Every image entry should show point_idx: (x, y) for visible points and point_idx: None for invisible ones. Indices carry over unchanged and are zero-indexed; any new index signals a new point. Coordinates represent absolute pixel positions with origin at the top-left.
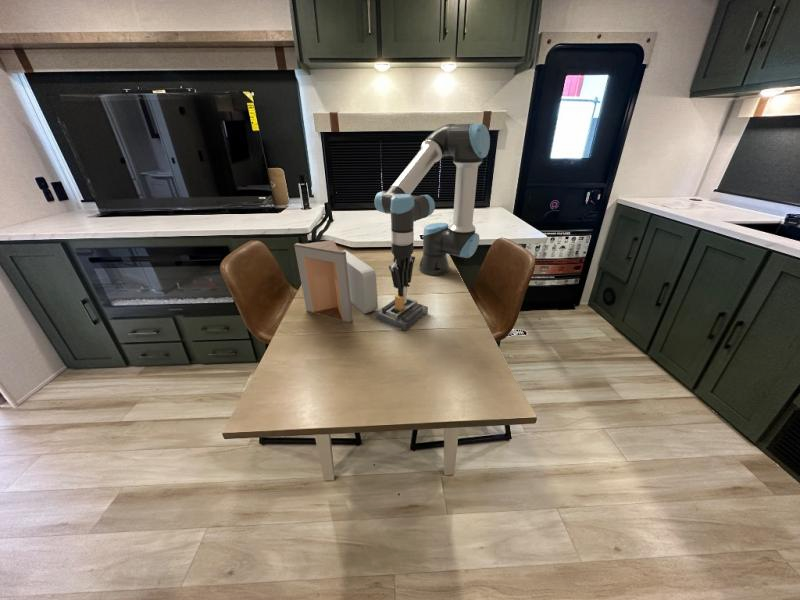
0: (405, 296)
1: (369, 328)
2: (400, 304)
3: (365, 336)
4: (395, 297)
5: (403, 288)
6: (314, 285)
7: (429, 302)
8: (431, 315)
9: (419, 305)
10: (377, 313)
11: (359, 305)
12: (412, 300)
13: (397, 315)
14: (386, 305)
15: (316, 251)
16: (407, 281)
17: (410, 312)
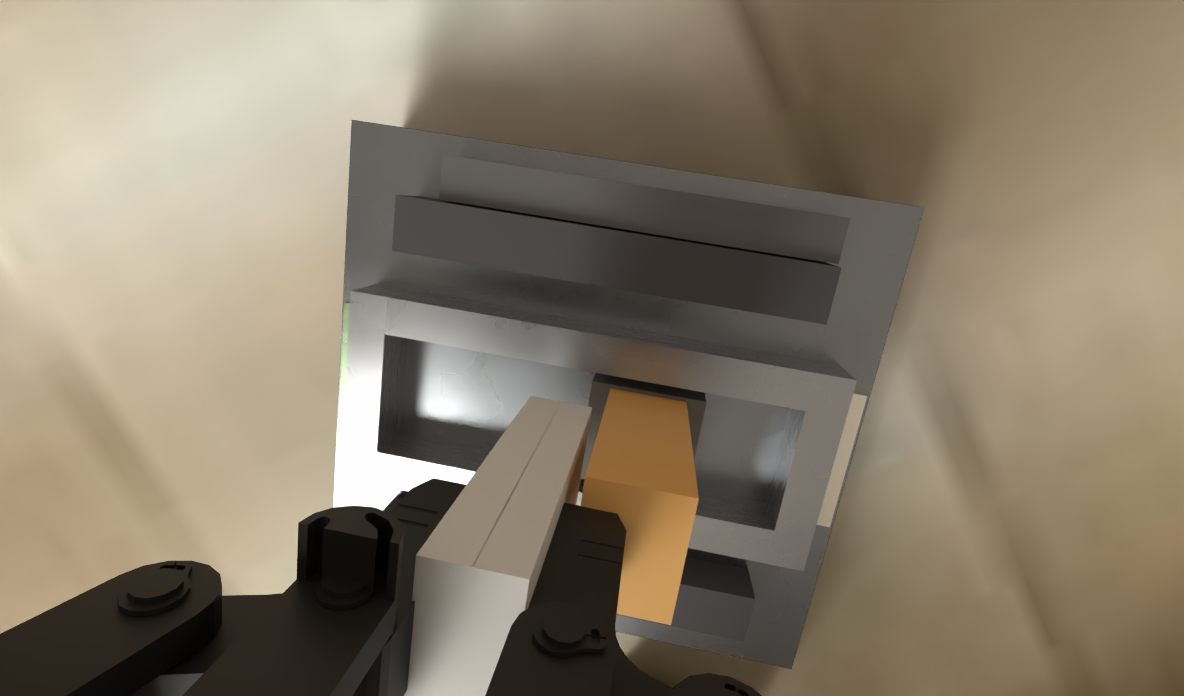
0: (534, 451)
1: (966, 588)
2: (689, 445)
3: (1129, 561)
4: (674, 601)
5: (552, 601)
6: None
7: (175, 222)
8: (416, 69)
9: (433, 213)
10: (797, 639)
11: None
12: (364, 366)
13: (845, 384)
14: (651, 621)
15: None
16: (257, 670)
17: (680, 249)
